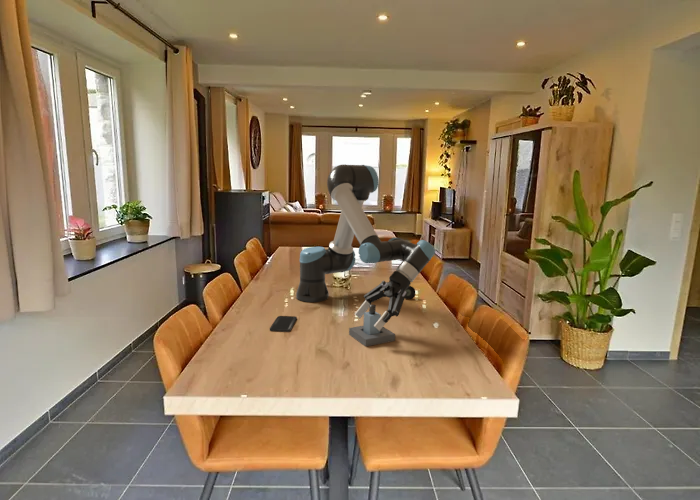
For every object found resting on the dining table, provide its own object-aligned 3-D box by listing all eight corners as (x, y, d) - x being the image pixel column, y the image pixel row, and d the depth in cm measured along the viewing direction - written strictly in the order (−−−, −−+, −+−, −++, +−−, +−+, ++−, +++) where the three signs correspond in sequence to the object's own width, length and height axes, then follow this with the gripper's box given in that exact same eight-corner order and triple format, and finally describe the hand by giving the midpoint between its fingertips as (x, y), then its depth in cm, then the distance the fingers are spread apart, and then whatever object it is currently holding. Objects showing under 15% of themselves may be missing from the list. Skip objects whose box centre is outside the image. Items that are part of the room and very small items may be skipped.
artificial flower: (400, 303, 198) (394, 283, 196) (384, 295, 219) (379, 277, 218) (417, 297, 200) (412, 277, 198) (399, 289, 221) (394, 271, 220)
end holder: (349, 334, 155) (349, 328, 154) (377, 329, 160) (377, 323, 160) (365, 346, 144) (365, 339, 144) (394, 340, 150) (395, 333, 149)
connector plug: (363, 336, 153) (364, 304, 151) (373, 334, 155) (374, 302, 153) (369, 340, 149) (370, 308, 147) (379, 338, 151) (381, 306, 149)
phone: (297, 316, 171) (289, 329, 156) (297, 319, 171) (289, 332, 156) (277, 315, 171) (268, 329, 156) (277, 318, 171) (268, 332, 156)
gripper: (430, 291, 145) (392, 340, 141) (390, 275, 167) (355, 317, 163) (418, 278, 142) (379, 327, 137) (379, 263, 163) (343, 305, 159)
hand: (366, 322), depth 150 cm, fingers open, 13 cm apart
